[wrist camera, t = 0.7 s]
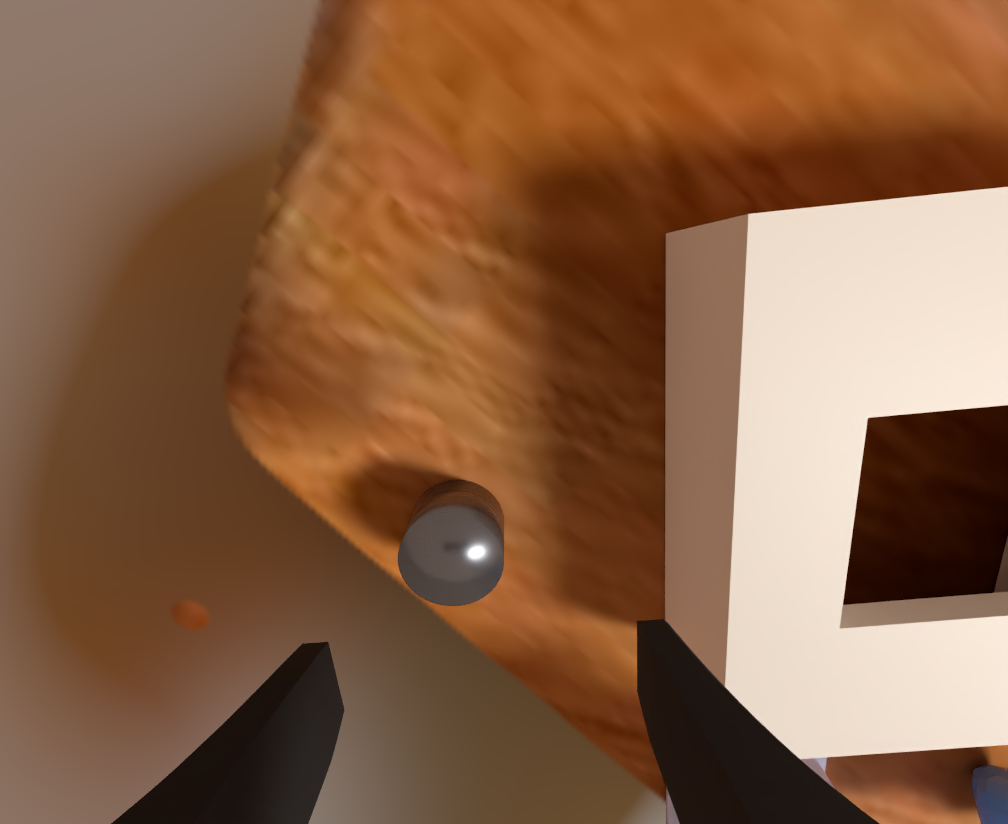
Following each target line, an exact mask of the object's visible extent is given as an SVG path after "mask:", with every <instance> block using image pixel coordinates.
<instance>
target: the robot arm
mask: <svg viewBox="0 0 1008 824" xmlns="http://www.w3.org/2000/svg"><path fill="white" fill-rule="evenodd" d="M637 691H638V696H639V700H640V704H641V708H642V712H643V716H644V720H645V724H646V727H647V731H648V735H649V739H650V742H651V745H652V748H653V751H654V754H655V756H656V759H657V762H658V765H659V768H660V770H661V773H662V776H663V779H664V782H665V784H666V824H879V823H878V822H877V821H875V820H874V819H873V818H871V817H870V816H869V815H867V814H866V813H864V812H863V811H862V810H860V809H859V808H858V807H857V806H856V805H854V804H853V803H852V802H851V801H849V800H848V799H847V798H846V797H844V796H843V795H842V794H841V793H839V792H838V791H837V790H836V789H835V788H834V786H833V785H832V783H831V782H830V780H829V778H828V777H827V775H826V774H825V769H826V762H827V757H824V758H810V759H799V758H798V757H797V756H796V755H795V754H794V753H793V752H791V751H790V750H789V749H788V748H787V747H786V746H785V745H784V744H783V743H782V742H781V741H779V740H778V739H777V738H776V737H775V736H774V735H773V734H772V733H771V732H770V731H769V730H768V729H767V728H766V727H765V726H764V725H763V724H761V723H760V722H759V721H758V720H757V719H756V718H755V717H754V716H753V715H752V714H751V713H750V712H749V711H748V710H747V709H746V708H745V707H744V706H743V705H742V704H741V703H740V702H739V701H738V700H737V699H736V698H735V697H734V696H733V695H732V694H731V692H730V691H729V690H728V689H727V688H726V687H725V686H724V685H723V684H722V683H721V682H720V681H719V680H718V679H717V678H716V677H715V676H714V675H713V674H712V672H711V671H710V670H709V669H708V668H707V667H706V666H705V665H704V664H703V663H702V661H701V660H700V659H699V658H698V657H697V656H696V655H695V654H694V653H693V651H692V650H691V649H690V648H689V647H688V646H687V644H686V643H685V642H684V641H683V640H682V639H681V637H680V636H679V635H678V634H677V633H676V632H675V630H674V629H673V628H672V627H671V626H670V624H669V623H668V622H666V621H665V620H664V619H661V620H647V621H637ZM343 713H344V707H343V703H342V698H341V694H340V690H339V686H338V682H337V678H336V673H335V669H334V665H333V661H332V656H331V652H330V648H329V644H328V642H322V643H308V644H302V645H301V646H300V647H299V648H298V649H297V650H296V651H295V652H294V653H293V654H292V655H291V656H290V657H289V658H288V659H287V660H286V661H285V662H284V663H283V664H282V665H281V666H280V667H279V668H278V669H277V670H276V671H275V672H274V673H273V674H272V675H271V676H270V677H269V678H268V680H266V681H265V682H264V684H262V686H260V688H259V689H258V690H257V691H256V692H255V693H254V694H253V695H252V696H251V697H250V698H249V699H248V700H247V701H246V702H245V703H244V704H243V705H242V706H241V707H240V708H239V709H238V710H237V711H236V712H235V713H234V714H233V715H232V716H231V717H230V718H229V719H228V720H227V721H226V722H225V723H224V724H223V725H222V726H221V727H219V728H218V729H217V730H216V731H215V732H214V733H213V734H212V735H211V736H210V737H209V738H208V739H207V740H206V741H205V742H203V743H202V744H201V746H199V747H198V748H197V749H196V750H195V751H194V752H193V753H192V754H191V755H190V756H189V757H188V758H186V759H185V760H184V761H183V762H182V763H181V764H180V765H179V766H178V767H177V768H176V769H175V770H174V771H173V772H171V773H170V774H169V775H168V776H167V777H166V778H165V779H163V780H162V781H161V782H160V783H159V784H158V785H157V786H155V787H154V788H153V789H152V790H151V791H150V792H149V793H147V794H146V795H145V796H144V797H143V798H141V799H140V800H139V801H138V802H137V803H135V804H134V805H133V806H132V807H131V808H129V809H128V810H127V811H126V812H125V813H123V814H122V815H121V816H120V817H119V818H117V819H116V820H115V821H114V822H113V823H111V824H308V823H309V820H310V817H311V815H312V812H313V809H314V807H315V804H316V801H317V798H318V796H319V793H320V790H321V788H322V785H323V782H324V779H325V777H326V774H327V771H328V768H329V765H330V763H331V759H332V756H333V752H334V749H335V745H336V741H337V738H338V733H339V729H340V725H341V721H342V717H343Z"/></svg>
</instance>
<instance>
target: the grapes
mask: <svg viewBox="0 0 1008 824" xmlns="http://www.w3.org/2000/svg"><path fill="white" fill-rule="evenodd" d="M972 791H973V795H974V799H975V803H976V807H977V811H978V815H979V818H980V821H981V824H1008V769H1005V768H1001V767H996V766H992V765H985V766H980V767H978V768H976V769H974V771H973V776H972Z"/></svg>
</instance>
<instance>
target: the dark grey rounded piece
mask: <svg viewBox="0 0 1008 824" xmlns="http://www.w3.org/2000/svg"><path fill="white" fill-rule="evenodd" d="M398 565H399V569H400V573H401V575H402V577H403V579H404V581H405V582H406V584H407V585H408V586H409V587H410V589H412V590H413V591H414V592H415V593H416V594H417V595H419V596H420V597H422V598H424V599H425V600H428V601H430V602H433V603H436V604H440V605H446V606H460V605H466V604H470V603H473V602H475V601H477V600H479V599H481V598H483V597H484V596H486V595H487V594H488V593H489V592H491V591H492V590H493V588H494V587H495V586H496V585H497V583H498V581H499V580H500V577H501V575H502V571H503V565H504V516H503V511H502V509H501V506H500V504H499V502H498V501H497V499H496V498H495V497H494V496H493V495H492V494H491V493H490V492H489V491H488V490H487V489H485V488H484V487H482V486H480V485H478V484H476V483H473V482H469V481H464V480H451V481H445V482H442V483H439V484H437V485H434V486H433V487H431V488H430V489H428V490H427V491H426V492H425V493H424V494H423V495H422V496H421V497H420V499H419V500H418V502H417V504H416V506H415V508H414V511H413V514H412V516H411V519H410V521H409V524H408V526H407V529H406V532H405V534H404V537H403V539H402V542H401V545H400V548H399V552H398Z"/></svg>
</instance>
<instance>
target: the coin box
mask: <svg viewBox="0 0 1008 824" xmlns="http://www.w3.org/2000/svg"><path fill="white" fill-rule="evenodd" d="M1003 405H1008V187H1000V188H991V189H981V190H971V191H962V192H952V193H943V194H933V195H924V196H914V197H905V198H895V199H886V200H876V201H867V202H857V203H848V204H838V205H828V206H819V207H809V208H800V209H790V210H781V211H771V212H762V213H752V214H746V215H742V216H737V217H733V218H729V219H725V220H721V221H716V222H712V223H708V224H704V225H699V226H695V227H691V228H687V229H682V230H678V231H674V232H670V233H666V377H665V621H666V622H668V623H669V624H670V626H671V627H672V628H673V629H674V630H675V632H676V633H677V634H678V635H679V636H680V637H681V639H682V640H683V641H684V642H685V643H686V644H687V646H688V647H689V648H690V649H691V650H692V651H693V653H694V654H695V655H696V656H697V657H698V658H699V659H700V660H701V661H702V663H703V664H704V665H705V666H706V667H707V668H708V669H709V670H710V671H711V672H712V674H713V675H714V676H715V677H716V678H717V679H718V680H719V681H720V682H721V683H722V684H723V685H724V686H725V687H726V688H727V689H728V690H729V691H730V692H731V694H732V695H733V696H734V697H735V698H736V699H737V700H738V701H739V702H740V703H741V704H742V705H743V706H744V707H745V708H746V709H747V710H748V711H749V712H750V713H751V714H752V715H753V716H754V717H755V718H756V719H757V720H758V721H759V722H760V723H761V724H763V725H764V726H765V727H766V728H767V729H768V730H769V731H770V732H771V733H772V734H773V735H774V736H775V737H776V738H777V739H778V740H779V741H781V742H782V743H783V744H784V745H785V746H786V747H787V748H788V749H789V750H790V751H791V752H793V753H794V754H795V755H796V756H797V757H798V758H799V759H810V758H824V757H839V756H853V755H867V754H882V753H896V752H911V751H925V750H939V749H954V748H968V747H982V746H997V745H1008V536H1007V541H1006V545H1005V549H1004V553H1003V557H1002V561H1001V565H1000V569H999V573H998V577H997V582H996V586H995V590H994V593H987V594H974V595H961V596H949V597H936V598H923V599H911V600H898V601H886V602H873V603H860V604H848V605H843V600H844V593H845V585H846V578H847V570H848V563H849V555H850V548H851V540H852V533H853V525H854V518H855V511H856V503H857V496H858V488H859V481H860V473H861V466H862V458H863V451H864V443H865V436H866V429H867V421H868V418H872V417H883V416H893V415H904V414H915V413H926V412H937V411H948V410H959V409H970V408H981V407H992V406H1003Z"/></svg>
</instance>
